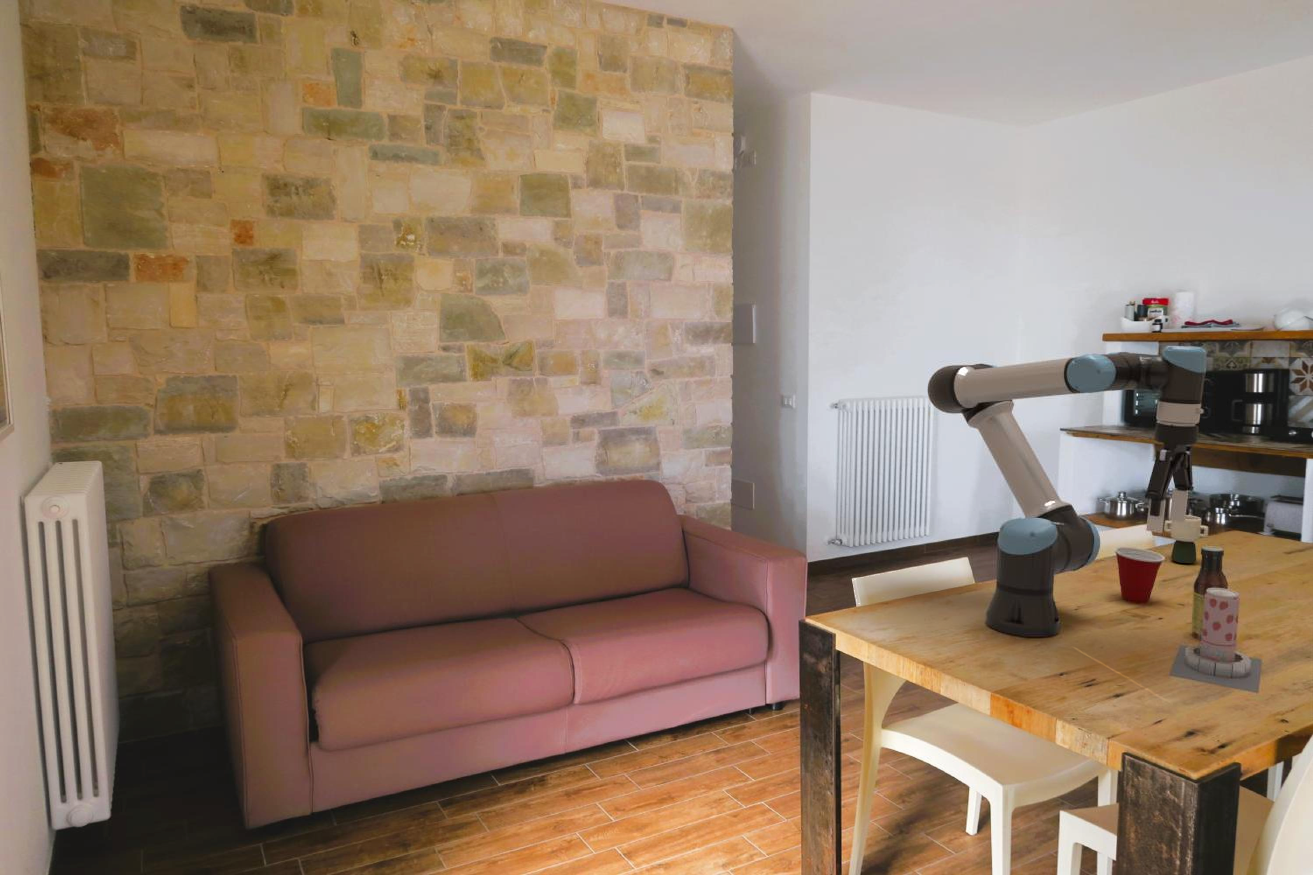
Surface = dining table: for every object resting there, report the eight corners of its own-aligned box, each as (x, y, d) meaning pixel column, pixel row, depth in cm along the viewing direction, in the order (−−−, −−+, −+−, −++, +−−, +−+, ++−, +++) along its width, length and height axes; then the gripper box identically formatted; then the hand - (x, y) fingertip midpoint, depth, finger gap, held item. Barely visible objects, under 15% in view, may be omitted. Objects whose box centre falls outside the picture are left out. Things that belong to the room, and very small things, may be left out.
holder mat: (1257, 695, 161) (1258, 692, 161) (1168, 677, 169) (1169, 674, 169) (1261, 661, 177) (1261, 659, 177) (1180, 646, 185) (1180, 644, 185)
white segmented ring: (1213, 679, 167) (1214, 666, 167) (1172, 658, 177) (1173, 646, 177) (1262, 675, 169) (1263, 662, 168) (1219, 655, 179) (1220, 643, 178)
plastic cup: (1157, 610, 209) (1161, 560, 207) (1107, 601, 215) (1110, 552, 214) (1165, 598, 217) (1168, 550, 216) (1115, 590, 224) (1119, 544, 222)
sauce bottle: (1212, 634, 193) (1220, 544, 190) (1232, 644, 186) (1240, 551, 184) (1182, 634, 192) (1190, 544, 190) (1201, 644, 186) (1209, 551, 184)
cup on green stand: (1209, 563, 249) (1212, 518, 248) (1201, 568, 245) (1205, 522, 243) (1166, 556, 257) (1169, 512, 256) (1157, 561, 252) (1161, 515, 251)
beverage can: (1195, 666, 173) (1201, 591, 171) (1203, 659, 177) (1209, 585, 175) (1229, 674, 169) (1235, 597, 167) (1237, 666, 173) (1243, 591, 171)
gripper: (1177, 430, 169) (1164, 540, 172) (1217, 420, 185) (1205, 520, 189) (1134, 426, 174) (1123, 532, 177) (1177, 416, 191) (1166, 513, 194)
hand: (1165, 526), depth 183 cm, fingers open, 13 cm apart
